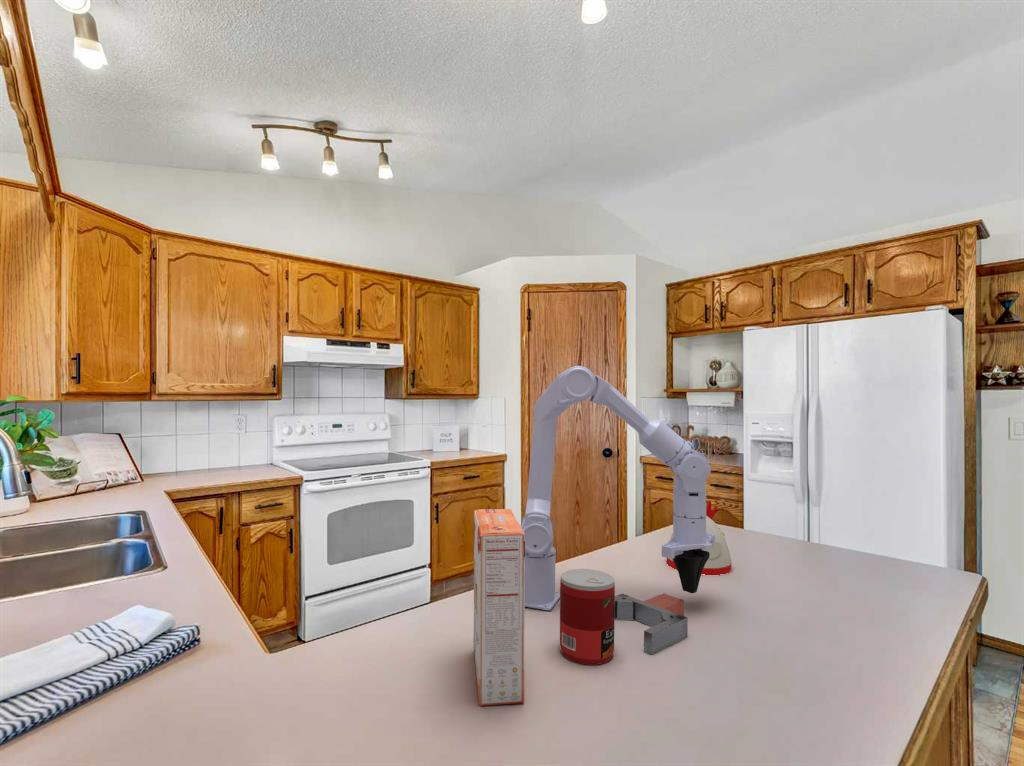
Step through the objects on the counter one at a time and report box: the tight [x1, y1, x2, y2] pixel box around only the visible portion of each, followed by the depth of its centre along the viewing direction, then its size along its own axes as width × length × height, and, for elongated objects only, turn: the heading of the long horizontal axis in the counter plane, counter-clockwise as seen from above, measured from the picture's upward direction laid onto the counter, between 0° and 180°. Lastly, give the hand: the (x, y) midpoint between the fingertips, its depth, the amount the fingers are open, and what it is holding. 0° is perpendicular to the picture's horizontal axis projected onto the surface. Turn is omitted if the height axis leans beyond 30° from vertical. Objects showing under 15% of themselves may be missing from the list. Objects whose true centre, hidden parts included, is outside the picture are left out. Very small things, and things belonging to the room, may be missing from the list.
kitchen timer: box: [666, 500, 732, 576], centre depth 118 cm, size 14×14×15 cm
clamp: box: [614, 592, 689, 656], centre depth 85 cm, size 15×13×3 cm
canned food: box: [559, 568, 616, 666], centre depth 76 cm, size 8×8×11 cm
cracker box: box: [473, 508, 526, 707], centre depth 69 cm, size 14×6×21 cm, turn 7°
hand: (689, 591), depth 93 cm, fingers closed
